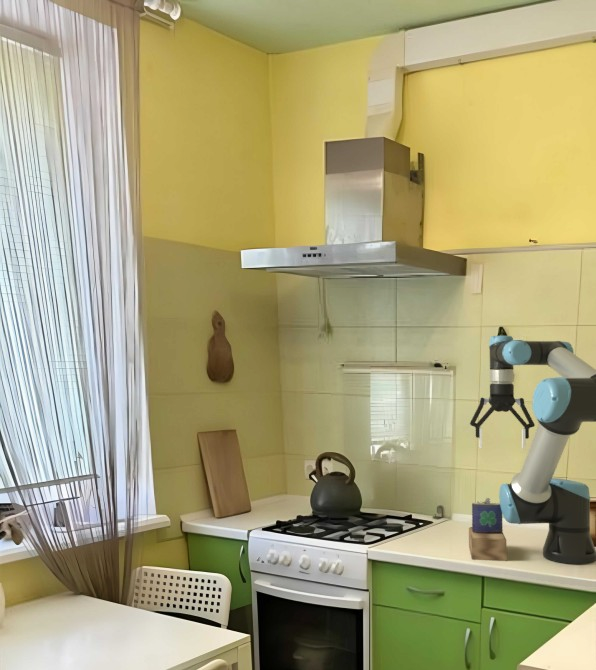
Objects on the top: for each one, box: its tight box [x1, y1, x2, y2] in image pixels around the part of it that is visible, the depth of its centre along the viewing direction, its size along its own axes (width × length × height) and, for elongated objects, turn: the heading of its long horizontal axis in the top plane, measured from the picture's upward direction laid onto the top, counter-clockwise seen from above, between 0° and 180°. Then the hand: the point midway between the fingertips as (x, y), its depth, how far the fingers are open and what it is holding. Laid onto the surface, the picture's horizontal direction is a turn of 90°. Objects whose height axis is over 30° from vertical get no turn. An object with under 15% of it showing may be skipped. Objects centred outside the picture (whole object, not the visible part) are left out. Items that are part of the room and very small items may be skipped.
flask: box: [471, 497, 504, 534], centre depth 231 cm, size 9×3×11 cm, turn 88°
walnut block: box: [468, 526, 508, 562], centre depth 231 cm, size 10×16×6 cm, turn 170°
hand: (502, 448), depth 245 cm, fingers open, 13 cm apart
